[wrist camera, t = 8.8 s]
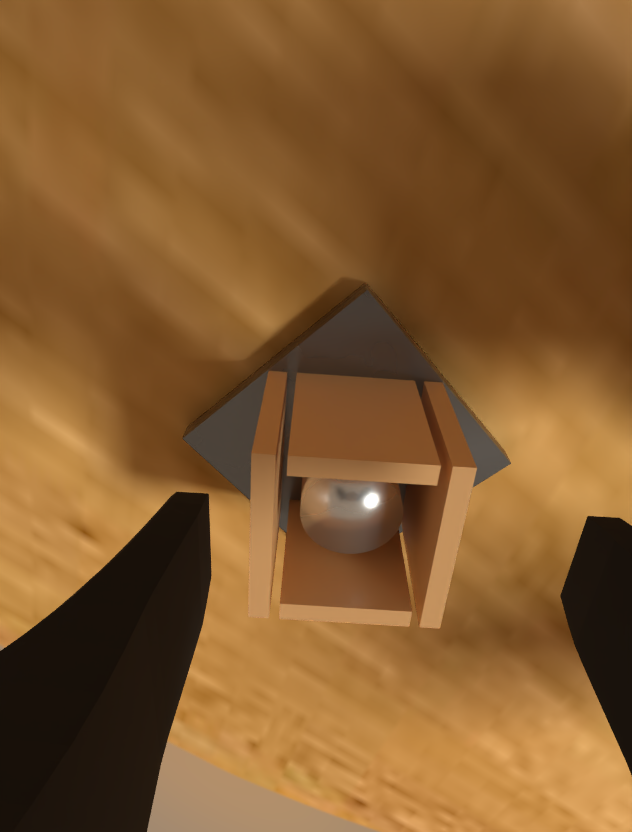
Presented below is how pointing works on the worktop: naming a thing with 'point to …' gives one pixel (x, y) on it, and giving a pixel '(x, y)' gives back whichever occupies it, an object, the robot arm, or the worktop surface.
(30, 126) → the worktop surface
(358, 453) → the brown hollow box
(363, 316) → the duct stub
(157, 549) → the robot arm
